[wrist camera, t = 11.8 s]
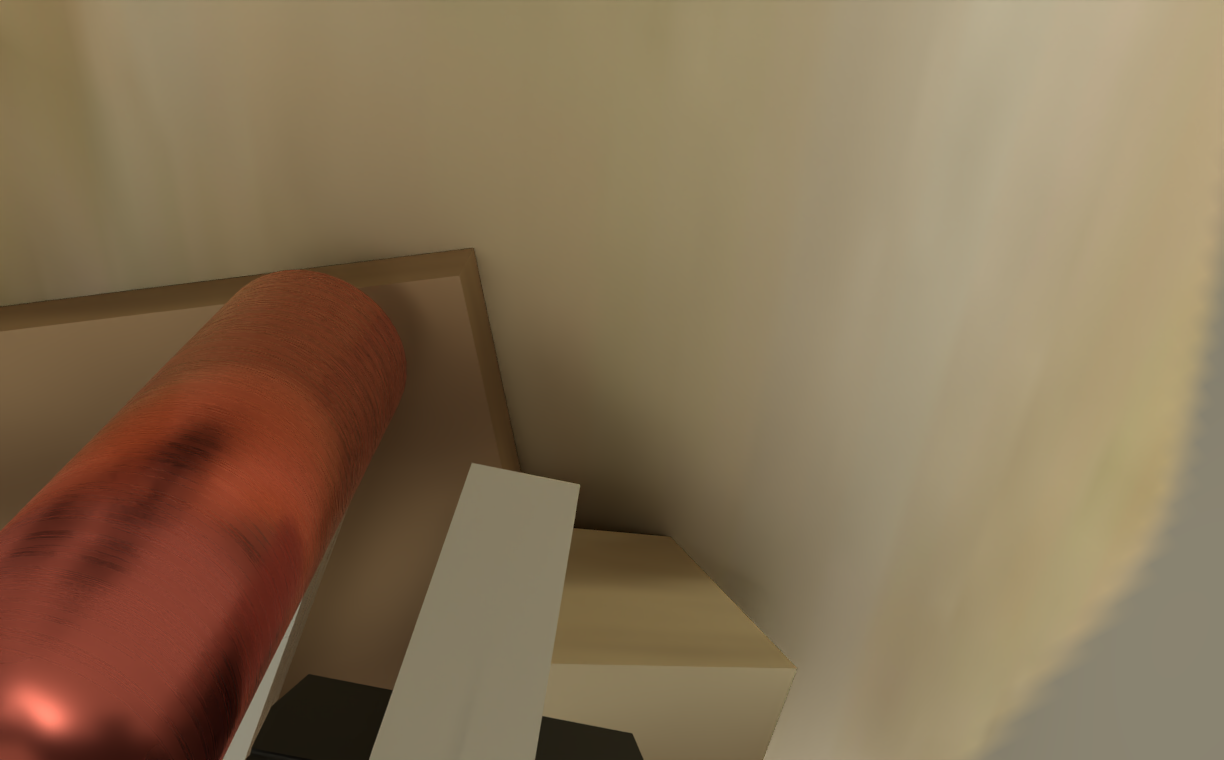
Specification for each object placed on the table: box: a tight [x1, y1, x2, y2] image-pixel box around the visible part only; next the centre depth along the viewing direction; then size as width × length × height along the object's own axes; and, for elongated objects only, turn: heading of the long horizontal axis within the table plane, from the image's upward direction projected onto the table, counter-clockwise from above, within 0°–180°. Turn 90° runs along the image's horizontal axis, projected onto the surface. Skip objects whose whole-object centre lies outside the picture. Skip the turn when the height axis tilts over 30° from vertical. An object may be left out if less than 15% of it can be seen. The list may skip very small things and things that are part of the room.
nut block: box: [542, 528, 797, 760], centre depth 21 cm, size 5×5×5 cm
